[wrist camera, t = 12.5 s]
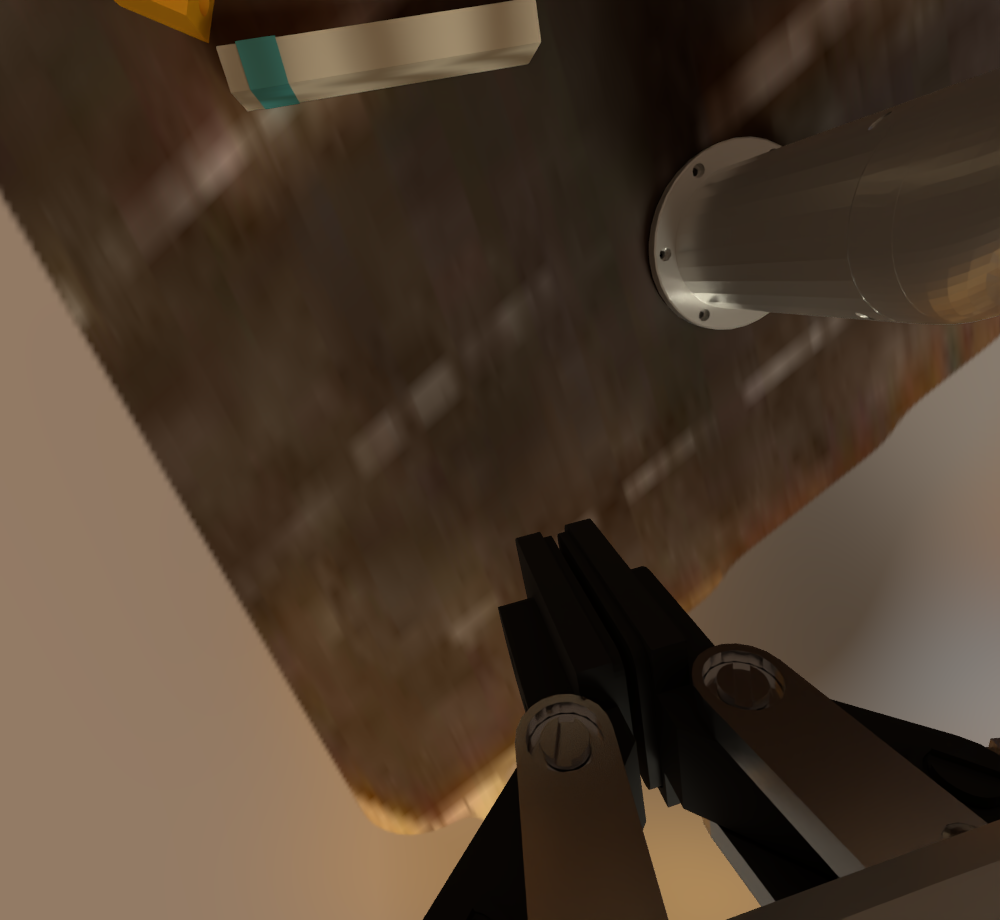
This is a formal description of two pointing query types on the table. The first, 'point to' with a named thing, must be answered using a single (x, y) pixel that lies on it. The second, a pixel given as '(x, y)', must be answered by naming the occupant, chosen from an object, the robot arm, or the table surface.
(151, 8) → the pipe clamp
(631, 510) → the table surface
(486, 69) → the channel
